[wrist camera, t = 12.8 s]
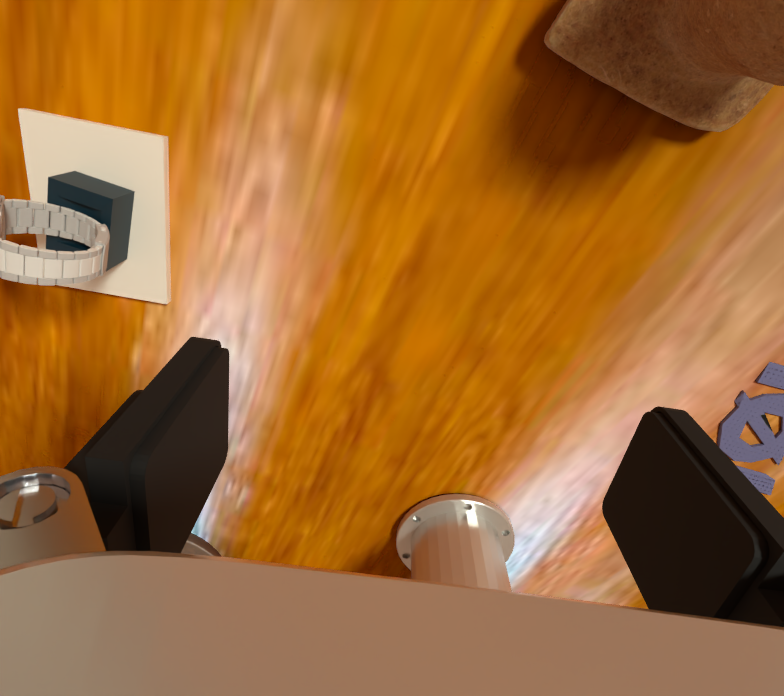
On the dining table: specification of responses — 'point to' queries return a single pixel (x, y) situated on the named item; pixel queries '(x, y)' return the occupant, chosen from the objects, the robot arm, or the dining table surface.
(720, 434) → the signage
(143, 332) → the dining table surface
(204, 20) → the dining table surface
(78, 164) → the pad
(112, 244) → the watch
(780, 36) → the brown boot
